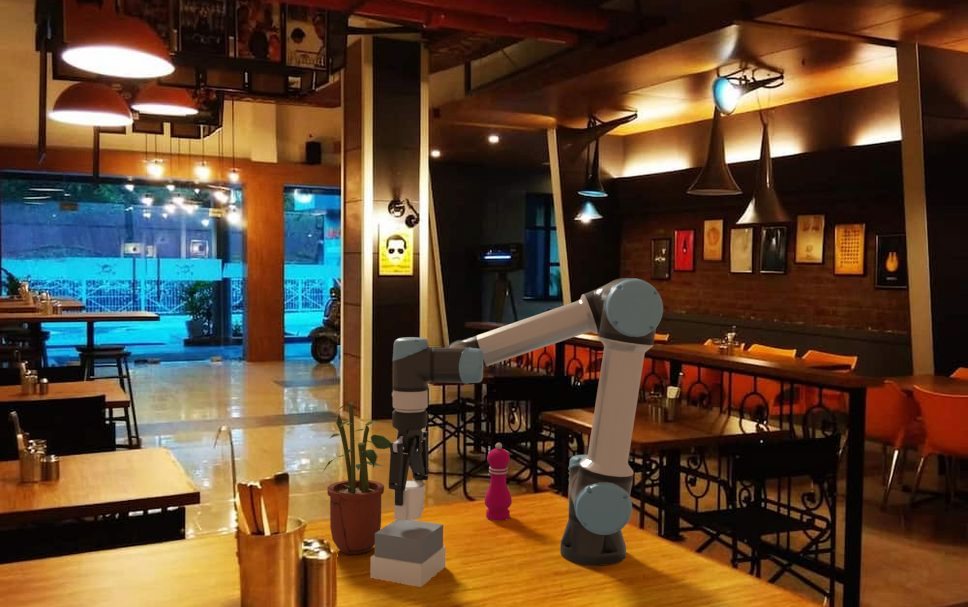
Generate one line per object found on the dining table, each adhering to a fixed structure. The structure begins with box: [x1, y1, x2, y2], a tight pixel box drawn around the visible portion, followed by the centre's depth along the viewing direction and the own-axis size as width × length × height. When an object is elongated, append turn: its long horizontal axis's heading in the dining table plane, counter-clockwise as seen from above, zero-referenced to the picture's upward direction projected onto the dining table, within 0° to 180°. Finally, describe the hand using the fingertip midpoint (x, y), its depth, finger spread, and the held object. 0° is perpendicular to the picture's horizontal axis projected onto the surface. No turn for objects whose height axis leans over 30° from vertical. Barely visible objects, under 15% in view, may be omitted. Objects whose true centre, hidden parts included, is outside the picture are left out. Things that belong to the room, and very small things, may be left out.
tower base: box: [369, 545, 446, 588], centre depth 173 cm, size 12×12×5 cm
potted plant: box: [322, 402, 392, 555], centre depth 188 cm, size 17×16×35 cm
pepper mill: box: [484, 442, 513, 521], centre depth 211 cm, size 7×7×20 cm
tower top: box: [374, 519, 444, 564], centre depth 173 cm, size 11×11×5 cm
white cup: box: [393, 479, 426, 520], centre depth 172 cm, size 7×7×7 cm
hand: (409, 514), depth 173 cm, fingers closed on white cup, 7 cm apart
